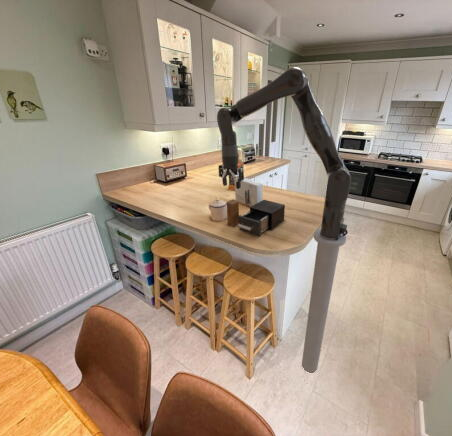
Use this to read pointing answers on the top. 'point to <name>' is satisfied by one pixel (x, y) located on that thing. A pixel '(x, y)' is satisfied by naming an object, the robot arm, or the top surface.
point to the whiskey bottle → (231, 179)
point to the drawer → (254, 222)
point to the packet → (233, 212)
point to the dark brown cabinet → (271, 211)
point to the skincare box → (249, 192)
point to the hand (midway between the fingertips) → (231, 187)
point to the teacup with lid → (218, 210)
